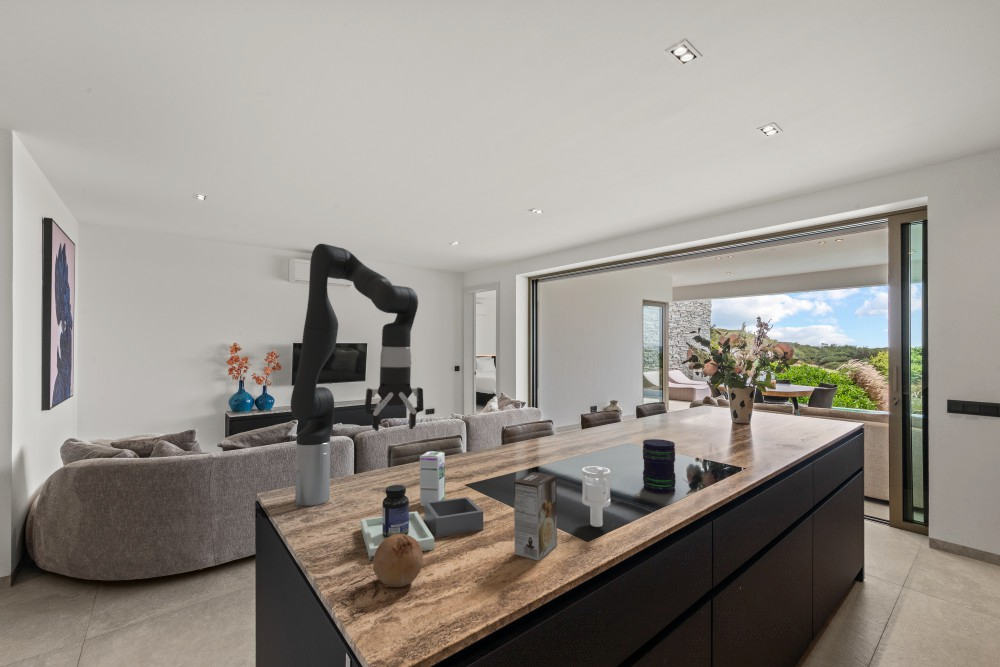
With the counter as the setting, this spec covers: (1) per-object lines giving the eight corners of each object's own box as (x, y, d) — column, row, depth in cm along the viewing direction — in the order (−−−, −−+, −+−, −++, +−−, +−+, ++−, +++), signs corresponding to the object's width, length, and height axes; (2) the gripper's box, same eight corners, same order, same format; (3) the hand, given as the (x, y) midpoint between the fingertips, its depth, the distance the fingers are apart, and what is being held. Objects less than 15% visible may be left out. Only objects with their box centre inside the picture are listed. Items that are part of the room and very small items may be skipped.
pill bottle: (413, 532, 109) (414, 485, 109) (398, 541, 103) (398, 493, 103) (393, 527, 111) (393, 482, 112) (376, 537, 106) (377, 489, 106)
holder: (436, 537, 108) (436, 518, 108) (424, 519, 119) (424, 502, 119) (483, 529, 112) (483, 511, 113) (467, 513, 124) (467, 496, 124)
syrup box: (439, 508, 128) (439, 456, 128) (419, 506, 129) (419, 455, 129) (445, 501, 133) (445, 451, 134) (426, 499, 134) (426, 450, 135)
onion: (411, 605, 85) (423, 566, 82) (362, 593, 84) (372, 553, 81) (421, 564, 94) (432, 527, 91) (376, 553, 93) (386, 515, 90)
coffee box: (533, 539, 107) (532, 471, 107) (557, 545, 104) (557, 475, 104) (513, 554, 99) (513, 480, 100) (539, 562, 96) (539, 485, 96)
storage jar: (638, 490, 143) (638, 443, 143) (648, 482, 151) (647, 438, 152) (671, 496, 137) (670, 447, 138) (679, 488, 145) (678, 441, 146)
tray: (369, 561, 96) (370, 549, 96) (361, 529, 113) (361, 519, 113) (434, 549, 101) (434, 538, 102) (416, 520, 118) (416, 511, 118)
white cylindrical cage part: (588, 530, 112) (587, 469, 112) (578, 519, 119) (578, 462, 119) (615, 529, 113) (614, 468, 113) (604, 518, 120) (603, 461, 120)
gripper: (420, 364, 120) (419, 425, 120) (364, 364, 115) (363, 428, 114) (426, 365, 113) (425, 431, 113) (367, 365, 108) (365, 434, 107)
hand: (393, 429), depth 114 cm, fingers open, 8 cm apart
